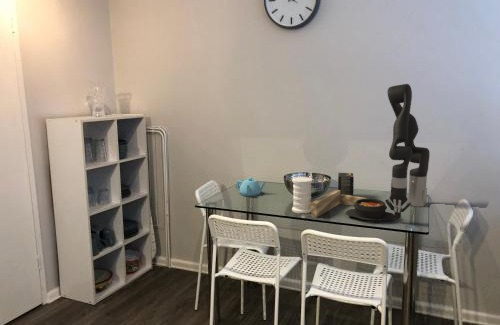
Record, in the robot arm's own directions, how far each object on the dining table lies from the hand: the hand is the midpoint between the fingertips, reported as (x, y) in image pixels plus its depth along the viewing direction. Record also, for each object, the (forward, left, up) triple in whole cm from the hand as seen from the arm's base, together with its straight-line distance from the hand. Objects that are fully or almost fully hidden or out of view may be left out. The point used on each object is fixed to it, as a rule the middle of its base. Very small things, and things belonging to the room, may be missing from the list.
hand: (397, 218), depth 209 cm
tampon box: (+40, -28, -2) cm, 49 cm away
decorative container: (+50, +8, -2) cm, 51 cm away
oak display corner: (+32, -1, -2) cm, 32 cm away
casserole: (+14, 0, -2) cm, 15 cm away
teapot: (+95, -4, -2) cm, 95 cm away
